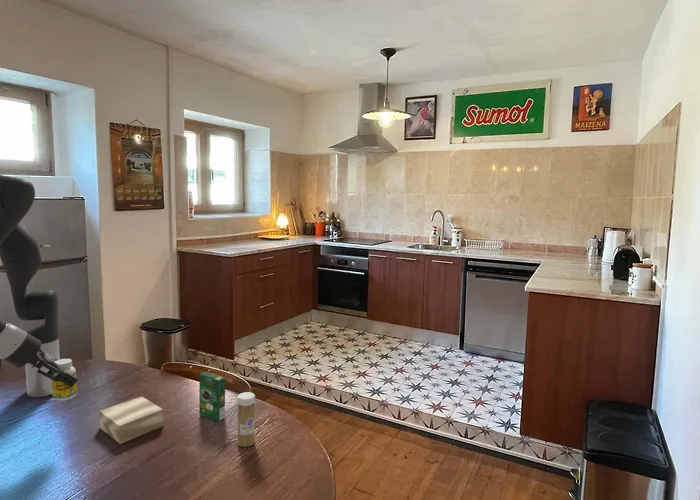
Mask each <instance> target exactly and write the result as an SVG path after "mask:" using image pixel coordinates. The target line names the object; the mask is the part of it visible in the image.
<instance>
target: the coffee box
mask: <svg viewBox="0 0 700 500" xmlns="http://www.w3.org/2000/svg"><path fill="white" fill-rule="evenodd" d="M198 396H199V402H198V403H199V410H198V411H199V412H198V413H199V416H200V417H202V418H207V419H209V420H212V421H213V422H217V423H220V422H221V421H223V420H225V419H226V418H225V417H226V415H225V414H226V377H224V376H222V375H218V374H215V373H212V372H209V371H204V372H201V373H200V374H199V395H198Z"/></svg>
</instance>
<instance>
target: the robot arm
mask: <svg viewBox="0 0 700 500" xmlns="http://www.w3.org/2000/svg"><path fill="white" fill-rule="evenodd" d="M35 197H36V190H35V187H34V184H33V183H32V182H31V181H30V180H27V179H24V178H20V177H13V176H8V175H3V174H0V259H1V260H0V261H1V263H2V266H3V268H4V271H5V275H6V277H7V279H8V281H7V282H8V283H9V287H10V292H11V296H12V302H13V307H14V311H15V314H16V316H17V318H18V319H19V320H20V321H40V320H43V321H44V323H42V324H41V325H39V326H37V327H34V328H31V329H29V330H27V331H25V330H23V329H22V328H20V327H18V326H17V325H14V324H12V323H9V322H8V321H6V320H4V319H2V318H1V317H0V360H2V361H4V362H5V363H8V364H10V365H11V366H13V367H15V368H18V369H19V368H22V367H24V369H25V386H26V395H27V396H28V397H29V398H42V397H47V396H50V395H52V380H54V381H55V382H58V381H61V382H63V383H65V384H66V385H68V386H70V387H72V386H73V385H74V384H75V383H76V384H77V383H78V379H77V377H76V378H75V377H73V376H71V375H70V374H68V373H66V372H65V371H64V370H62V369H60V368H59V364H57V363H56V362H55V361H57V360H60V359H61V358H60V343H59V342H60V340H59V338H60V337H59V300H58V298H59V297H58V294H57V292H56V291H55V290H52V289H46V290H44V289H43V290H28V288H27V287H28V285H29V283H30V281H31V280H32V279H33V278H34V277H35V276H36V275H37V273H38V271H39V269H40V268H41V265H42V255H41V251H40V248H39V244H38V242H37V240H36V238H35V237H34V236H33V235H32V234H31V233H30V232H29V231H28V230H27V229H25V227H23V226H22V224H20V222H21V221H22V220H23V219H24V218H25V216H26V215H27V214H28V212H29V211H30V209H31V208H32V206H33V204H34V201H35ZM56 372H58V373H59V374H58V375H57V376H55V375H54V374H55V373H56Z"/></svg>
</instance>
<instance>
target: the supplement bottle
mask: <svg viewBox="0 0 700 500" xmlns="http://www.w3.org/2000/svg"><path fill="white" fill-rule="evenodd" d="M55 362H56V363H57V364H59V368H60V369H62V370H64V371H65V372H66V373H68V374H70V375H71V376H73V377H75V378H76V379H77V371H76V368H75V367H74V366H73V359H71V358H60V360H57V361H55ZM58 374H59V373H58V372H56V373H55V374H54V375H55V376H57V375H58ZM77 392H78V389H77V382H76V383H75V384H74V385H73V386H72V387H70V386H68V385H66V384H65V383H63V382H61V381H58V382H55V381H54V380H52V394H51V395H52V399H53V400H54V401H59V402H61V401H67V400H70V399H73V398H74V397H76V396H77Z"/></svg>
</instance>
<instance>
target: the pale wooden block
mask: <svg viewBox="0 0 700 500" xmlns="http://www.w3.org/2000/svg"><path fill="white" fill-rule="evenodd" d="M98 414H99V429H100V430H102V431H103V432H104V433H106V434H107V435H108V436H110V437H111V438H112V439H113V440H115V441H116V442H117V443H118V444H120V445H121V444H123V443H125V442H128V441H130V440H133V439H135V438H138V437H140V436H143V435H145V434H147V433H150V432H153V431H155V430H157V429H160V428H162V427H164V409H163V408H162V407H160V406H159V405H157V404H155V403H153V402H152V401H150V400H148V399H147V398H145V397H144V396H142V395H141V396H139V397H136V398H133V399H130V400H127V401H123V402H121V403H118V404H116V405H112V406H109V407H107V408H103V409H101V410H99V411H98Z"/></svg>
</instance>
